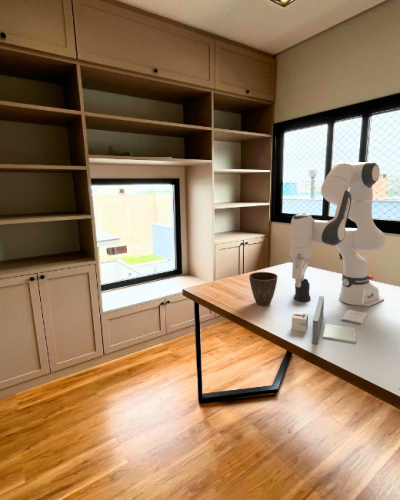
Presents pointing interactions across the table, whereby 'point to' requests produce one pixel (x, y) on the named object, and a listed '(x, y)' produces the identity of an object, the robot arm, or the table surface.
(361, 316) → the external hard drive
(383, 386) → the table surface
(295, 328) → the letter cube
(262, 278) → the plant pot
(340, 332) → the pad
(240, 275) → the table surface
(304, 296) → the mug
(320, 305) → the screen
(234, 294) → the table surface
